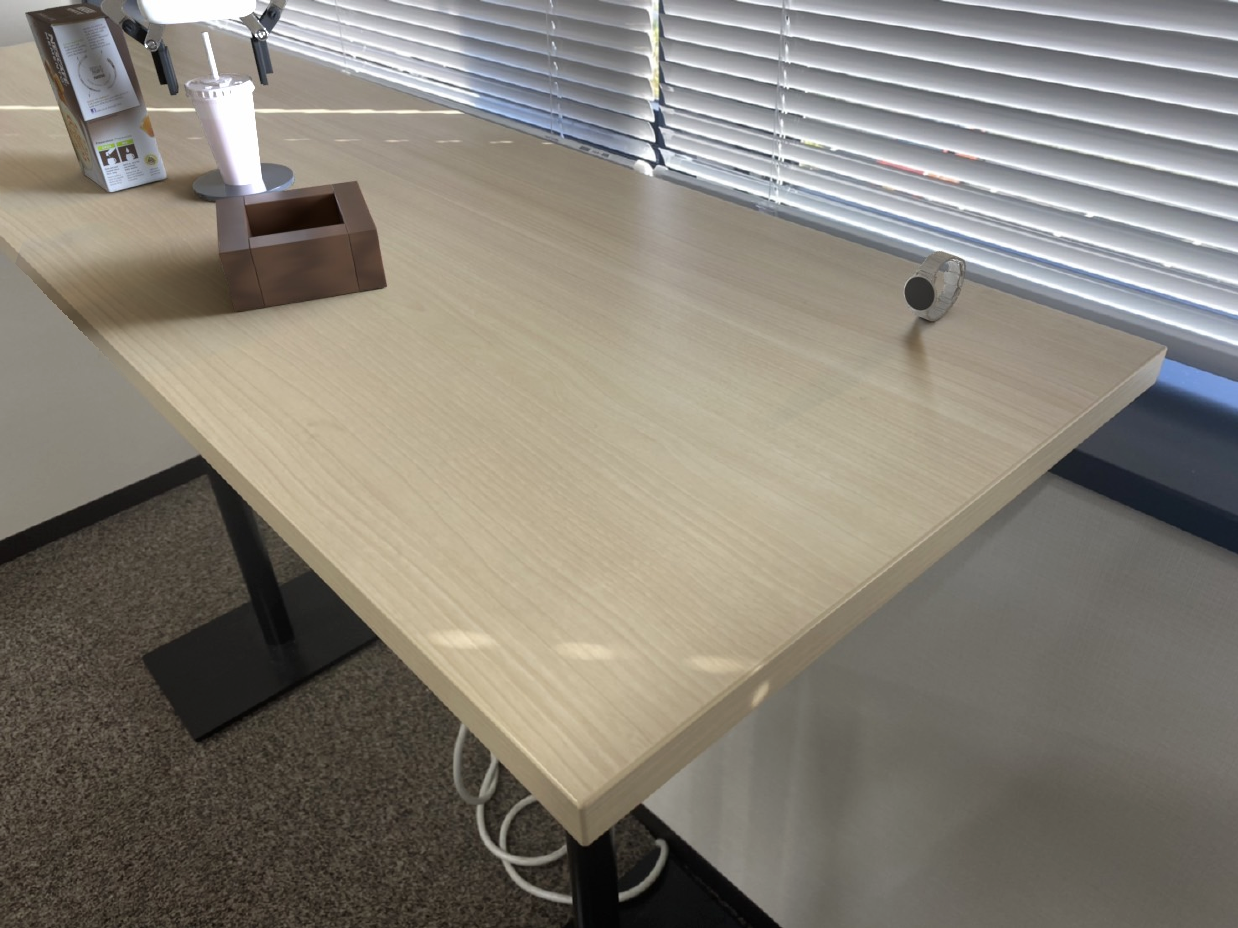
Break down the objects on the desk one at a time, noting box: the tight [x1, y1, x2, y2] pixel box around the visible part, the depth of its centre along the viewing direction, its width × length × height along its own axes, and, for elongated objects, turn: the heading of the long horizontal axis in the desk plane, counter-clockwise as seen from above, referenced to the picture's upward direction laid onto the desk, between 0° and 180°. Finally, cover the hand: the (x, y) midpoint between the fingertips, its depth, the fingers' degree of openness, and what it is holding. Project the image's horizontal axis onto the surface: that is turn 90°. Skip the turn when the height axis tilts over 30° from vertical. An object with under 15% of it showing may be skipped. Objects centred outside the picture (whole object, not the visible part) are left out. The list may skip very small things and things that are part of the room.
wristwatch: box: [903, 250, 967, 322], centre depth 72 cm, size 3×5×5 cm, turn 132°
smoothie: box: [183, 31, 261, 185], centre depth 95 cm, size 6×6×14 cm
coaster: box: [192, 162, 296, 203], centre depth 100 cm, size 10×10×1 cm
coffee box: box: [24, 2, 168, 193], centre depth 98 cm, size 9×6×16 cm
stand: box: [215, 180, 388, 313], centre depth 81 cm, size 12×12×5 cm
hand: (219, 85), depth 94 cm, fingers open, 7 cm apart
